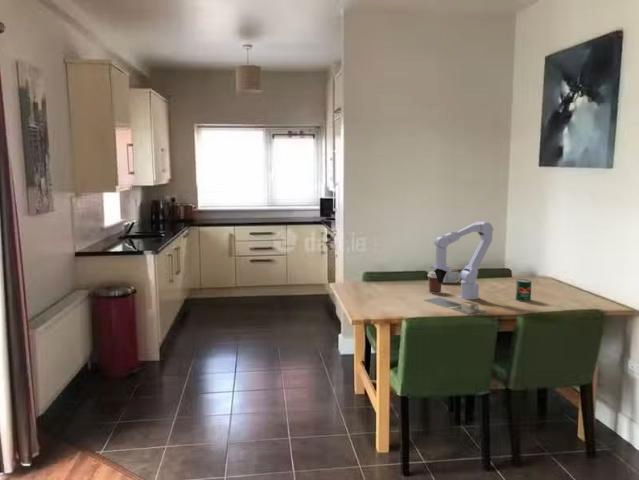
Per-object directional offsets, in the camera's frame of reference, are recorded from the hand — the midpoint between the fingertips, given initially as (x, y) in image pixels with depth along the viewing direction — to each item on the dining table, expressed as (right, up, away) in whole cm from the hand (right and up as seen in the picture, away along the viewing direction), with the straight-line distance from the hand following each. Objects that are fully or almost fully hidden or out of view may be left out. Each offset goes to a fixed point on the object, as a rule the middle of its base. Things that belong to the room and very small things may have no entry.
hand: (440, 282), depth 297 cm
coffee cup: (+1, -7, +18) cm, 19 cm away
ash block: (+9, -12, -25) cm, 29 cm away
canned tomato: (+46, -10, 0) cm, 47 cm away
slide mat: (+4, -11, -14) cm, 18 cm away
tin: (+16, -4, +43) cm, 46 cm away
